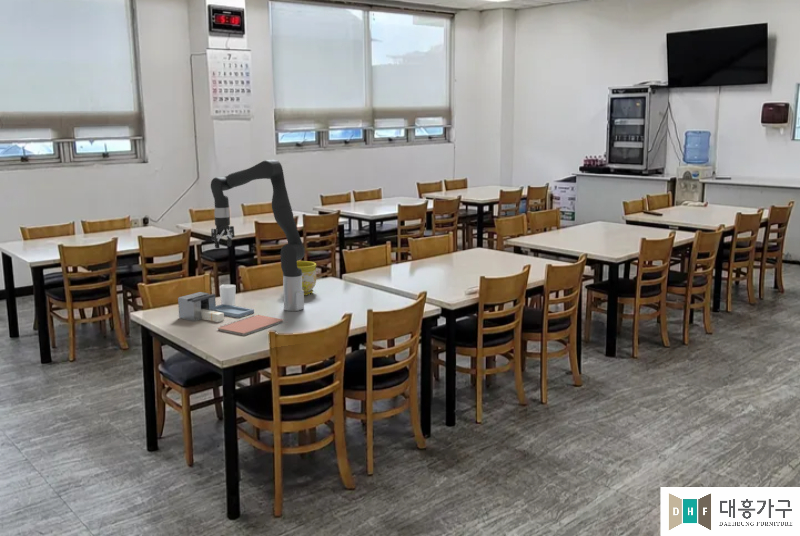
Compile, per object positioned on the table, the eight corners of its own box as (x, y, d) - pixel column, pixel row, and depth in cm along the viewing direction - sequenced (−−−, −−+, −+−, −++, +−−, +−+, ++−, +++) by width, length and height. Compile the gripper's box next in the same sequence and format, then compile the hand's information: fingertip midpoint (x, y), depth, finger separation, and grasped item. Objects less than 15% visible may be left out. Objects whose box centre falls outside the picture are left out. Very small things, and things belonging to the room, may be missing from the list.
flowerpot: (323, 294, 397) (322, 264, 394) (294, 298, 386) (294, 268, 383) (305, 288, 411) (304, 259, 408) (277, 292, 399) (276, 263, 396)
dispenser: (215, 314, 352) (215, 294, 350) (194, 321, 340) (193, 299, 338) (200, 311, 357) (199, 291, 355) (179, 318, 345) (178, 297, 343)
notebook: (256, 317, 349) (256, 313, 349) (284, 323, 341) (283, 319, 341) (215, 331, 326) (215, 326, 326) (244, 337, 318) (244, 332, 318)
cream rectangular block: (224, 320, 343) (224, 312, 342) (218, 322, 339) (217, 314, 339) (202, 315, 350) (202, 308, 349) (196, 317, 346) (195, 310, 345)
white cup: (228, 308, 365) (227, 288, 363) (216, 305, 369) (216, 286, 367) (239, 304, 372) (238, 285, 370) (228, 302, 376) (227, 283, 374)
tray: (254, 312, 356) (253, 309, 356) (238, 317, 347) (238, 314, 346) (223, 307, 366) (223, 303, 366) (207, 312, 357) (207, 308, 356)
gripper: (217, 218, 366) (218, 249, 370) (237, 215, 379) (238, 246, 382) (206, 217, 370) (208, 248, 373) (226, 214, 382) (227, 244, 385)
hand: (223, 247), depth 377 cm, fingers open, 8 cm apart
